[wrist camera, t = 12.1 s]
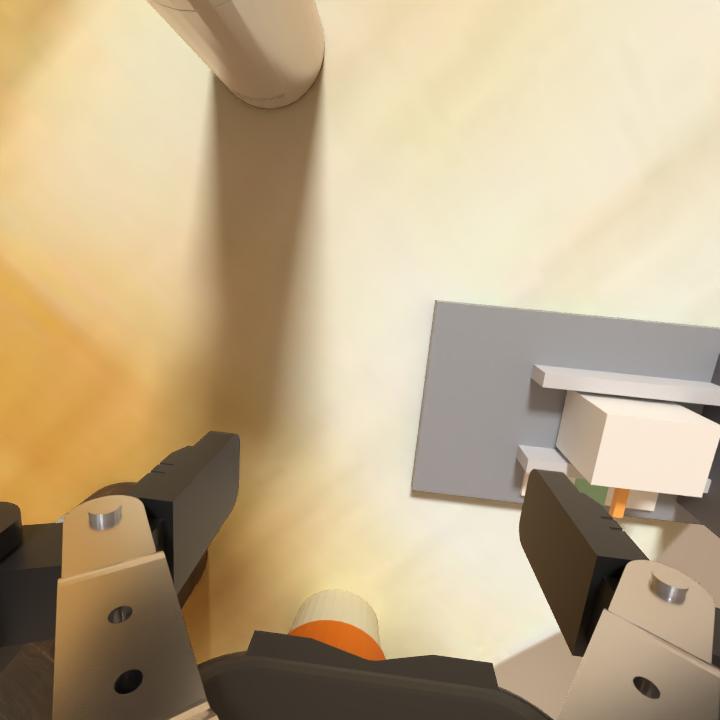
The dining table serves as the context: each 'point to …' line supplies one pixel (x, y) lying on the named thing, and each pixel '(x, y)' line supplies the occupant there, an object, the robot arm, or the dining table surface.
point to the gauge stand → (552, 398)
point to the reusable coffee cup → (340, 623)
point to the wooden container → (36, 660)
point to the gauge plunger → (637, 444)
